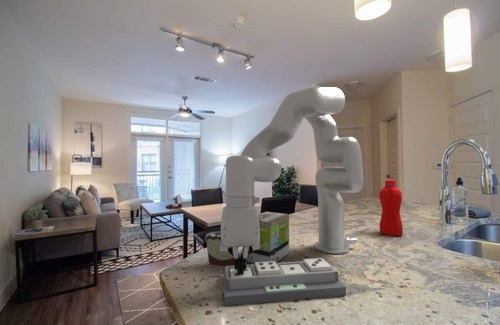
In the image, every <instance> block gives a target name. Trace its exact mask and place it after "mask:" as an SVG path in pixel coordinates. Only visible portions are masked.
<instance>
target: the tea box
mask: <svg viewBox="0 0 500 325" xmlns="http://www.w3.org/2000/svg"><path fill="white" fill-rule="evenodd" d="M258 219H259V230H260V246H261V248H260V249H257V250H253V251H252V252H251V253H250V254H249V255H248V257H247V258H246V263H247V262H248V263H250V264H255V262H270V261H275V262H276V263H278V262H279V261H280V260H281V259H283V258H284V257H286V256H287V255H289V253H290V215H289V214H288V213H281V212H272V211H264V212H262V213H258Z"/></svg>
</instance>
